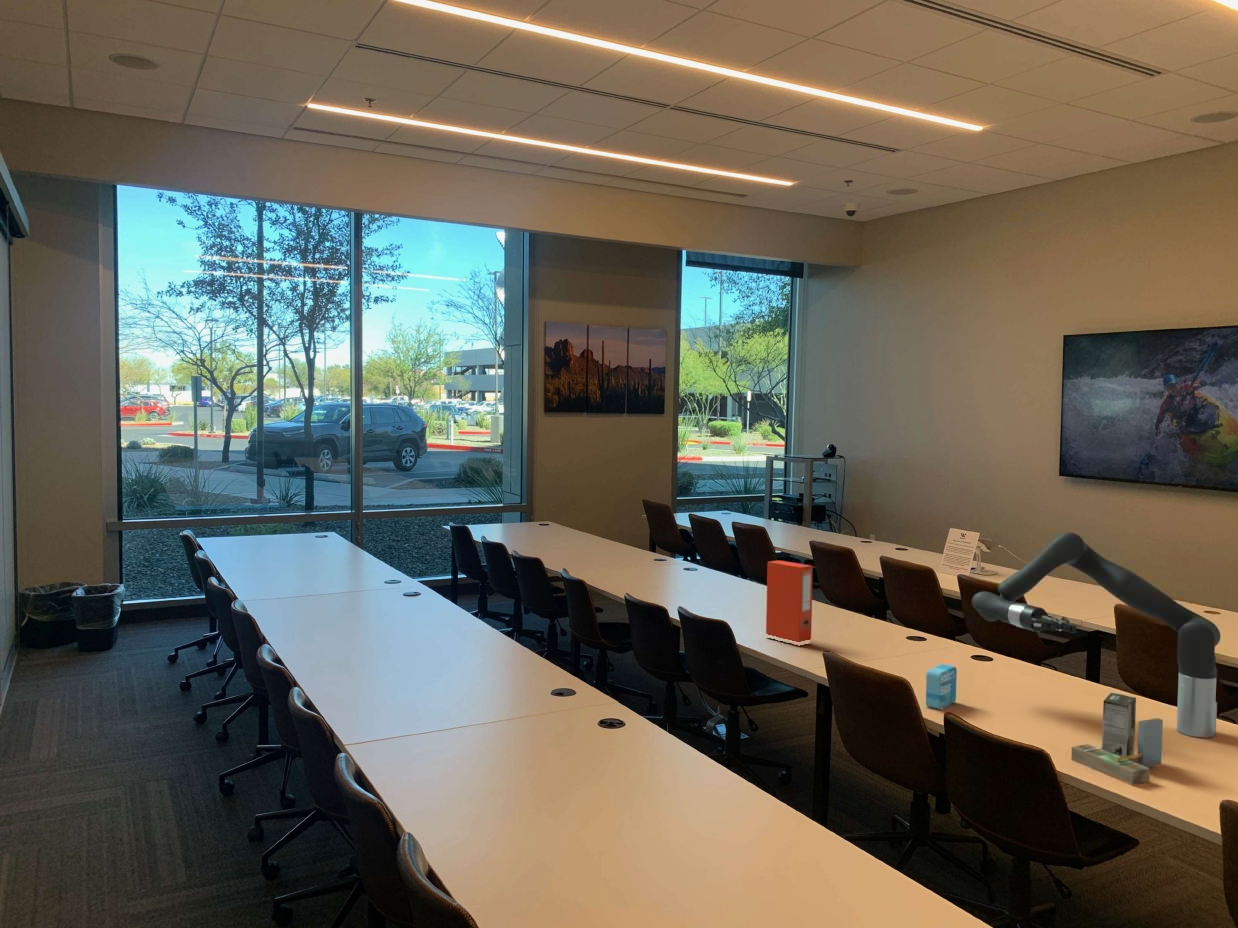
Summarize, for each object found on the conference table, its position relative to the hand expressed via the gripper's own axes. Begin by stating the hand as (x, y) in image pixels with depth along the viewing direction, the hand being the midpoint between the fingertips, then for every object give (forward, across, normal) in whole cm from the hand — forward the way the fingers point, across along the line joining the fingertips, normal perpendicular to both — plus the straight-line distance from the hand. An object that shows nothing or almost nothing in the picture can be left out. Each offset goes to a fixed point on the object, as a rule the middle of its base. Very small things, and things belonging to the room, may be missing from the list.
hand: (1074, 629), depth 261 cm
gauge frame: (+26, -16, +30) cm, 43 cm away
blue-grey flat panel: (+29, -10, +29) cm, 42 cm away
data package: (-32, -20, +30) cm, 48 cm away
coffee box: (+20, -6, +30) cm, 37 cm away
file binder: (-119, -21, +30) cm, 125 cm away
